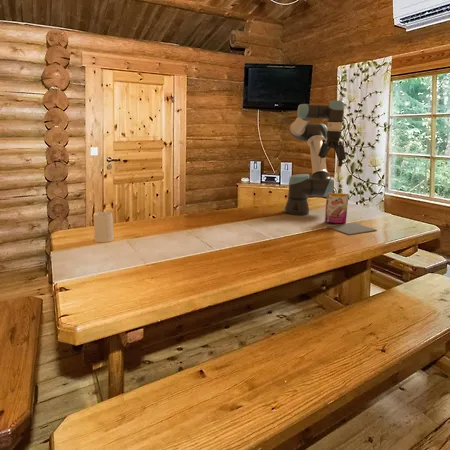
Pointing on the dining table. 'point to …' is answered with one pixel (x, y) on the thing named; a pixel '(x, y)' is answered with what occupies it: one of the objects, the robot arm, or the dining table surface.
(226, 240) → the dining table surface
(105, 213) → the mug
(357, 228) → the rubber mat
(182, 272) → the dining table surface
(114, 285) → the dining table surface
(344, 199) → the candy bar box
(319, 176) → the robot arm
